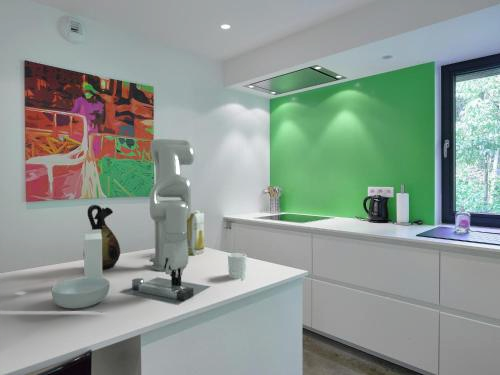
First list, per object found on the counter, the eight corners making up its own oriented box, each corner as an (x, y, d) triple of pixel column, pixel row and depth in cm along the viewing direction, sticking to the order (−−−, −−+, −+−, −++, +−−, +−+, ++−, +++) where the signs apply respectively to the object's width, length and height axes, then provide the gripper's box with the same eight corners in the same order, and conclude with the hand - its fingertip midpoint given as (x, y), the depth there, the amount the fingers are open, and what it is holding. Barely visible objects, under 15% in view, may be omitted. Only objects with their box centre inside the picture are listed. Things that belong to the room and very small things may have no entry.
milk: (102, 287, 125) (102, 230, 125) (84, 289, 122) (84, 231, 122) (100, 282, 131) (100, 228, 130) (84, 284, 128) (83, 229, 127)
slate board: (119, 295, 117) (119, 292, 117) (157, 279, 135) (157, 277, 135) (178, 307, 106) (178, 304, 106) (210, 289, 124) (210, 286, 124)
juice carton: (194, 256, 176) (194, 211, 175) (184, 254, 180) (184, 211, 179) (206, 252, 184) (206, 210, 183) (195, 251, 188) (195, 209, 187)
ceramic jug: (104, 263, 160) (103, 202, 159) (127, 267, 153) (127, 204, 152) (72, 272, 144) (71, 205, 144) (96, 277, 138) (95, 206, 137)
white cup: (244, 282, 132) (244, 257, 132) (225, 280, 134) (225, 256, 134) (248, 276, 140) (248, 253, 140) (230, 275, 142) (230, 252, 141)
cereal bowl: (49, 320, 96) (49, 296, 96) (53, 301, 111) (53, 280, 111) (111, 309, 104) (111, 288, 104) (107, 293, 119) (107, 274, 119)
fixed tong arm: (138, 291, 117) (138, 284, 117) (143, 289, 119) (143, 282, 119) (183, 300, 108) (183, 293, 108) (188, 298, 111) (188, 290, 111)
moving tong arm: (129, 288, 120) (129, 280, 120) (139, 285, 124) (139, 277, 124) (184, 300, 109) (184, 291, 109) (193, 295, 113) (193, 286, 113)
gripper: (180, 233, 126) (180, 280, 127) (153, 239, 113) (154, 291, 113) (196, 234, 123) (196, 282, 124) (171, 241, 110) (171, 295, 110)
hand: (176, 286), depth 119 cm, fingers closed
